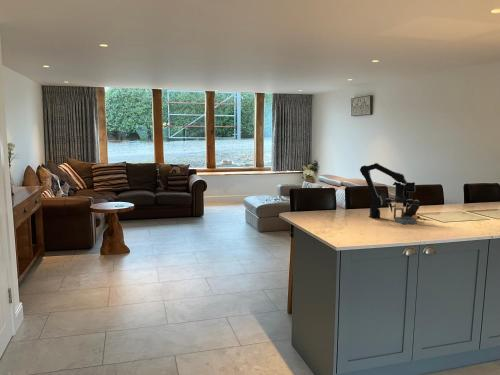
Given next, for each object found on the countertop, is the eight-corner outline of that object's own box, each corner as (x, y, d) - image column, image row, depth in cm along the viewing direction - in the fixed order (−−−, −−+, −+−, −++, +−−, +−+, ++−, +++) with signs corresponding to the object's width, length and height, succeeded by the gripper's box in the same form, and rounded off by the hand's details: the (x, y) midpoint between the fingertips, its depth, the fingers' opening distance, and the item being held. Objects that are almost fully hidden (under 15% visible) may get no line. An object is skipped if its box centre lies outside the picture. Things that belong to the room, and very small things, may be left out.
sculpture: (418, 218, 299) (419, 200, 298) (400, 216, 307) (401, 199, 306) (420, 217, 304) (421, 199, 302) (402, 215, 312) (403, 198, 310)
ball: (413, 221, 289) (413, 215, 288) (410, 220, 293) (410, 214, 292) (418, 221, 289) (418, 215, 289) (415, 220, 293) (415, 214, 293)
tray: (402, 224, 278) (402, 219, 278) (394, 221, 288) (394, 217, 288) (416, 223, 280) (416, 219, 279) (408, 221, 290) (408, 216, 289)
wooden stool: (403, 220, 293) (403, 208, 292) (393, 219, 295) (394, 208, 294) (403, 218, 299) (403, 207, 298) (393, 218, 301) (394, 207, 300)
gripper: (385, 192, 290) (384, 214, 292) (414, 193, 284) (413, 215, 286) (385, 190, 301) (385, 211, 302) (413, 191, 295) (412, 213, 297)
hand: (398, 213), depth 297 cm, fingers open, 9 cm apart
